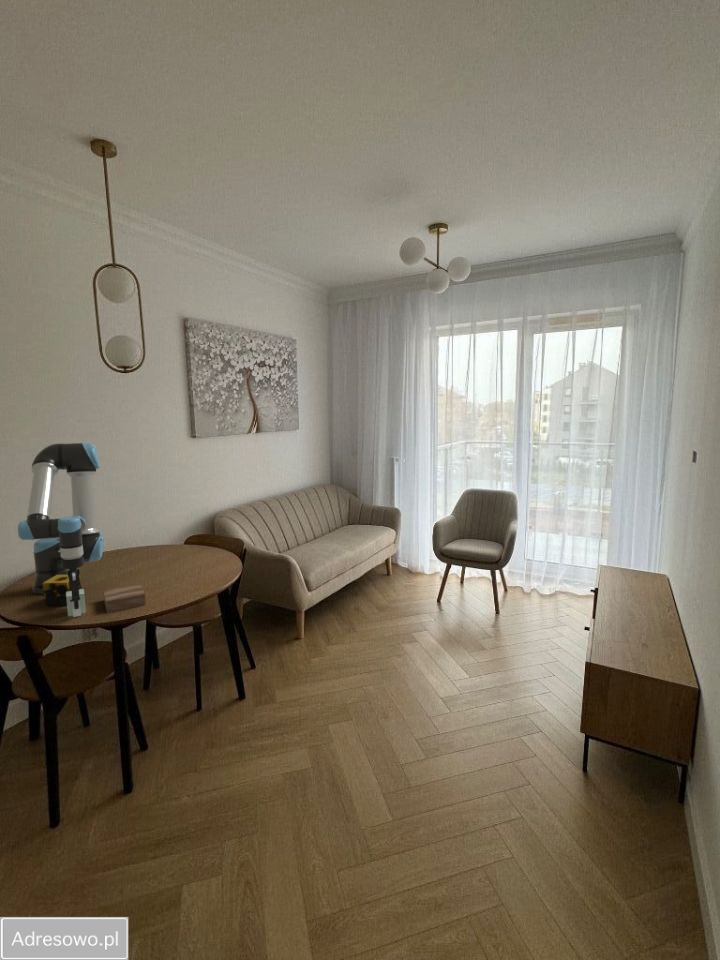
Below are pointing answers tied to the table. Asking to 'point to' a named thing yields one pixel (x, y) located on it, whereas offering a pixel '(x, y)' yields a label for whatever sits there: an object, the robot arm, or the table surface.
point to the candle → (57, 590)
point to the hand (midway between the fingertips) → (76, 611)
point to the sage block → (69, 604)
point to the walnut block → (124, 597)
